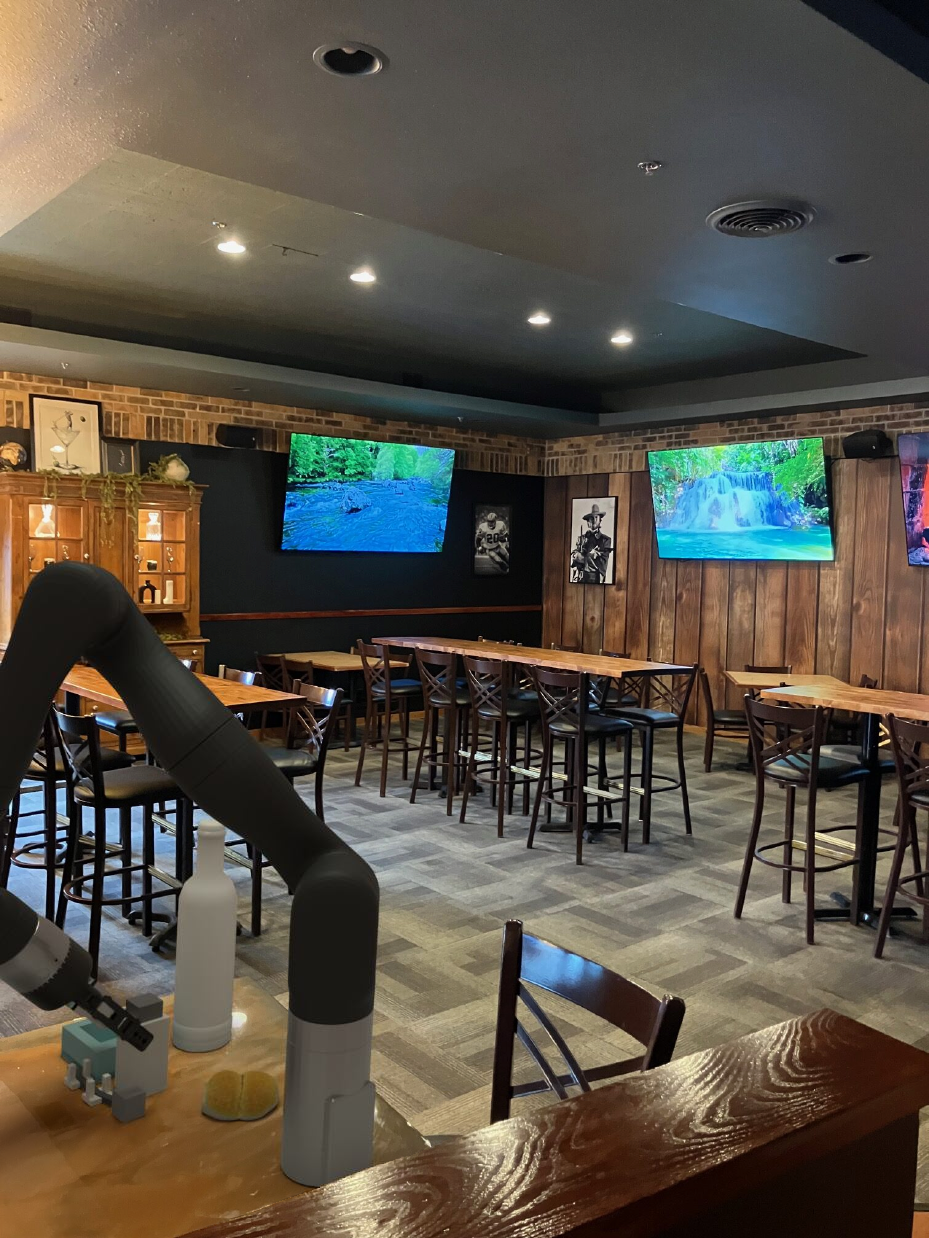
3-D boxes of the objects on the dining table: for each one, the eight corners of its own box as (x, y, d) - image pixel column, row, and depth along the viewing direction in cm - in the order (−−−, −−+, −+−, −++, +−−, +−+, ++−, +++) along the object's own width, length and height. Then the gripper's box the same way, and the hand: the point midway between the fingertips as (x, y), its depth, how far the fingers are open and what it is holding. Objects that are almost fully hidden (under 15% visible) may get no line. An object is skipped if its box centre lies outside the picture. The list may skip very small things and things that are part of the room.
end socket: (165, 1060, 127) (166, 1030, 127) (95, 1084, 121) (96, 1052, 120) (129, 1034, 134) (130, 1006, 134) (61, 1056, 127) (62, 1025, 127)
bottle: (222, 1054, 130) (233, 830, 129) (163, 1051, 130) (174, 826, 129) (237, 1028, 138) (247, 816, 137) (181, 1024, 138) (191, 813, 137)
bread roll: (277, 1122, 115) (279, 1089, 115) (198, 1125, 113) (200, 1091, 113) (279, 1086, 123) (280, 1055, 123) (205, 1088, 121) (207, 1057, 121)
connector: (166, 1089, 120) (170, 1000, 120) (132, 1101, 117) (136, 1010, 117) (148, 1075, 124) (152, 989, 123) (114, 1087, 120) (118, 998, 120)
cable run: (144, 1115, 114) (145, 1091, 114) (114, 1126, 112) (115, 1102, 112) (89, 1070, 124) (90, 1048, 124) (60, 1079, 121) (61, 1057, 121)
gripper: (92, 949, 107) (181, 1023, 116) (37, 915, 117) (122, 985, 126) (42, 1010, 103) (137, 1082, 112) (-12, 969, 113) (80, 1038, 122)
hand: (129, 1031), depth 119 cm, fingers open, 8 cm apart
